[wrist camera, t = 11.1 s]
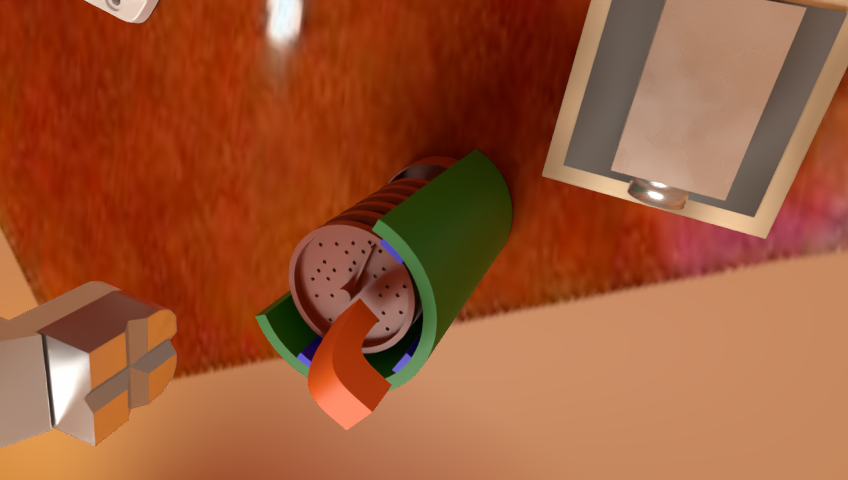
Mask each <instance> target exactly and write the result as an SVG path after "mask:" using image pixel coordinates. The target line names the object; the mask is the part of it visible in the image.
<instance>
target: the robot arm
mask: <svg viewBox="0 0 848 480" xmlns="http://www.w3.org/2000/svg"><path fill="white" fill-rule="evenodd" d="M85 1H87V2H89V3H91V4H93V5H95V6H97V7H99V8H101V9H103V10H104V11H106V12H108V13H110V14H112V15H114V16H116V17H118V18H120V19H122V20H124V21H127V22H133V23H142V22H144V21H145V20H146V19H147V18H148V17H149V16H150V14H151V13H152V11H153V10H154V8H155V6H156V4H157V2H158V1H159V0H120V1H119V0H85ZM175 333H176V315H175V314H173V313H172V312H171V311H170V310H169V309H166V308H164V307H162V306H159V305H157V304H155V303H153V302H150V301H148V300H146V299H143V298H141V297H139V296H136V295H134V294H132V293H129V292H127V291H125V290H121V289H118V288H116V287H114V286H112V285H109V284H107V283H105V282H102V281H90V282H88V283H86V284H84V285H81V286H79V287H77V288H75V289H73V290H71V291H69V292H67V293H65V294H63V295H61V296H59V297H57V298H54V299H52V300H50V301H48V302H46V303H44V304H42V305H40V306H38V307H36V308H34V309H32V310H29V311H27V312H25V313H23V314H21V315H19V316H17V317H15V318H13V319H11V320H7V319H5V318H2V317H0V448H3V447H5V446H8V445H11V444H14V443H17V442H20V441H22V440H25V439H28V438H31V437H34V436H37V435H39V434H42V433H45V432H48V431H51V430H52V427H53V428H55V429H57V430H60V431H62V432H64V433H66V434H69V435H71V436H73V437H75V438H78V439H80V440H82V441H84V442H87V443H89V444H92V445H93V446H97V445H98V444H99V443H100V442H102V441H103V440H104V439H105V438H107V437H108V436H109V435H110V434H112V433H113V432H114V431H116V430H117V429H118V428H119V427H121V426H122V425H123V424H124V423H126V422H127V421H128V420H129V415H130V412H131V409H133V408H136V407H140V406H144V405H148V404H150V403H151V402H152V401H153V400H155V399H156V398H157V397H158V396H159V395H161V394H162V393H163V391H164V389H165V388H166V387H167V385H168V384H169V382H170V381H171V379H172V377H173V374H174V371H175V367H176V352H175V350H174V348H173V346H172V344H171V342H170V340H169V339H170V338H171V337H172V336H173V335H174V334H175Z"/></svg>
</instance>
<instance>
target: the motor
mask: <svg viewBox="0 0 848 480" xmlns="http://www.w3.org/2000/svg"><path fill="white" fill-rule="evenodd" d="M512 215H513V212H512V201H511V196H510V193H509V190H508V187H507V184H506V182H505V180H504V178H503V176H502V175H501V173H500V172H499V170H498V169H497V167H496V166H495V165H494V164H493V163H492V162H491V161H490V160H489V159H488V158H487V157H486V156H485V155H484V154H483V153H481V152H480V151H478V150H477V149H475V150H473V151H472V152H470V153H469V154H468V155H466V156H465V157H464V158H462V159H461V160H458V159H455V158H452V157H447V156H429V157H425V158H422V159H420V160H417V161H415V162H414V163H412V164H410V165H409V166H407V167H405V168H404V169H402V170H401V171H399V172H398V173H396V174H395V175H394V176H393V177H392V178H391V179H390V181H389V182H388V183H387V185H386V186H384V187H383V188H381V189H380V190H378V191H376V192H375V193H373V194H371V195H370V196H368V197H367V198H365V199H363V200H362V201H360V202H359V203H357V204H356V205H354V206H353V207H351V208H349V209H347V210H346V211H344V212H343V213H341V214H340V215H338V216H336V217H335V218H333V219H331V220H330V221H328V222H327V223H325V224H324V225H322V226H320V227H319V228H317V229H315V230H314V231H312V232H311V233H309V234H308V235H306V236H305V237H304V238H303V239H302V240H301V241H300V243H299V244H298V245H297V247H296V248H295V250H294V252H293V255H292V258H291V261H290V266H289V285H290V291H288V292H287V293H286V294H284V295H283V296H282V297H280V298H279V299H278V300H276V301H275V302H274V303H272V304H271V305H270V306H268V307H267V308H266V309H264V310H263V311H262V312H260V313H259V314H258V315H256V316H255V317H256V319H257V321H258V323H259V325H260V327H261V329H262V331H263V333H264V334H265V336H266V337H267V339H268V340H269V342H270V343H271V345H272V346H273V347H274V348H275V350H276V351H277V352H278V353H279V354H280V355H281V356H282V357H283V358H284V359H285V361H287V362H288V363H289V364H290V365H291V366H292V367H293V368H295V369H296V370H297V371H298V372H300V373H301V374H303V375H304V376H306V377H307V378H308V387H309V390H310V393H311V395H312V396H313V398H314V400H315V401H316V402H317V404H318V405H319V406H320V407H321V408H322V409H323V410H324V411H325V412H326V413H327V414H328V415H329V416H331V417H332V418H333V419H334V420H335V421H337V422H338V423H339V424H340V425H341V426H342V427H344V429H346V430H347V429H349V428H350V427H352V426H353V425H355V424H356V423H358V422H359V421H360V420H362V419H363V418H365V417H366V416H367V415H369V414H370V413H372V412H373V410H374V409H375V408H376V406H377V405H378V404H379V402H380V401H381V399H382V398H383V396H384V395H385V394H386V393H387V391H390V390H392V389H395V388H397V387H399V386H401V385H403V384H404V383H406V382H407V381H409V380H410V379H411V378H412V377H413V376H415V375H416V374H417V372H418V371H419V370H420V369H421V368H422V366H423V365H424V363H425V362H426V361H427V359H428V358H429V356H430V355H431V353H432V352H433V350H434V349H435V347H436V346H437V344H438V343H439V341H440V340H441V338H442V337H443V335H444V334H445V333H446V331H447V330H448V328H449V327H450V325H451V324H452V322H453V321H454V319H455V318H456V316H457V315H458V313H459V312H460V310H461V309H462V307H463V306H464V304H465V303H466V301H467V300H468V298H469V297H470V295H471V294H472V293H473V291H474V290H475V288H476V287H477V285H478V284H479V282H480V281H481V279H482V278H483V276H484V275H485V273H486V272H487V270H488V269H489V267H490V266H491V264H492V263H493V261H494V260H495V258H496V257H497V255H498V254H499V253H500V251H501V250H502V248H503V246H504V245H505V243H506V241H507V239H508V236H509V233H510V230H511V225H512Z"/></svg>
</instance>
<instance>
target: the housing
mask: <svg viewBox="0 0 848 480" xmlns="http://www.w3.org/2000/svg"><path fill="white" fill-rule="evenodd" d="M806 9H807V8H805V7H800V6H794V5H789V4H784V3H778V2H773V1H768V0H664V3H663V6H662V9H661V12H660V15H659V18H658V22H657V25H656V28H655V31H654V34H653V37H652V40H651V43H650V46H649V49H648V52H647V55H646V58H645V61H644V64H643V67H642V70H641V73H640V77H639V80H638V83H637V86H636V89H635V92H634V95H633V98H632V101H631V104H630V107H629V110H628V113H627V116H626V119H625V122H624V125H623V129H622V132H621V135H620V138H619V141H618V144H617V147H616V151H615V155H614V159H613V163H612V167H611V170H612V171H615V172H619V173H623V174H627V175H630V176H632V177H631V180H630V183H629V186H628V189H627V192H628V194H629V195H631V196H632V197H634V198H635V199H637V200H639V201H641V202H644V203H646V204H649V205H652V206H656V207H659V208H664V209H670V210H681V209H683V208H684V207H685V205H686V202H687V200H688V197H689V195H690V192H694V193H698V194H701V195H705V196H709V197H713V198H716V199H720V200H724V201H725V200H726V197H727V195H728V193H729V190H730V188H731V186H732V183H733V181H734V178H735V176H736V174H737V171H738V169H739V167H740V164H741V162H742V160H743V157H744V155H745V152H746V150H747V148H748V145H749V143H750V141H751V138H752V136H753V134H754V131H755V129H756V127H757V124H758V122H759V119H760V117H761V115H762V112H763V110H764V108H765V105H766V103H767V101H768V98H769V96H770V94H771V91H772V89H773V86H774V84H775V82H776V79H777V77H778V75H779V72H780V70H781V68H782V65H783V63H784V60H785V58H786V56H787V53H788V51H789V49H790V46H791V44H792V42H793V39H794V37H795V35H796V32H797V30H798V27H799V25H800V23H801V20H802V18H803V16H804V13H805V11H806Z"/></svg>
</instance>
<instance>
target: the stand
mask: <svg viewBox="0 0 848 480" xmlns="http://www.w3.org/2000/svg"><path fill="white" fill-rule="evenodd" d="M768 1H773V2H778V3H784V4H789V5H794V6H800V7H805V8H807V9H806V11H805V13H804V16H803V18H802V20H801V23H800V25H799V27H798V30H797V32H796V35H795V37H794V39H793V42H792V44H791V46H790V49H789V51H788V53H787V56H786V58H785V60H784V63H783V65H782V68H781V70H780V72H779V75H778V77H777V79H776V82H775V84H774V86H773V89H772V91H771V94H770V96H769V98H768V101H767V103H766V105H765V108H764V110H763V112H762V115H761V117H760V119H759V122H758V124H757V127H756V129H755V131H754V134H753V136H752V138H751V141H750V143H749V145H748V148H747V150H746V152H745V155H744V157H743V160H742V162H741V164H740V167H739V169H738V171H737V174H736V176H735V178H734V181H733V183H732V186H731V188H730V190H729V193H728V195H727V197H726V200H725V201H724V200H720V199H716V198H713V197H709V196H705V195H701V194H698V193H694V192H690V195H689V197H688V200H687V202H686V205H685V207H684V208H683V209H681V210H670V209H664V208H659V207H656V206H652V205H649V204H646V203H644V202H641V201H639V200H637V199H635V198H634V197H632V196H631V195H629V194H628V192H627V189H628V186H629V183H630V180H631V177H632V176H630V175H627V174H623V173H619V172H615V171H612V170H611V167H612V163H613V159H614V155H615V151H616V147H617V144H618V141H619V138H620V135H621V132H622V129H623V125H624V122H625V119H626V116H627V113H628V110H629V107H630V104H631V101H632V98H633V95H634V92H635V89H636V86H637V83H638V80H639V77H640V73H641V70H642V67H643V64H644V61H645V58H646V55H647V52H648V49H649V46H650V43H651V40H652V37H653V34H654V31H655V28H656V25H657V22H658V18H659V15H660V12H661V9H662V6H663V3H664V0H591V3H590V6H589V10H588V13H587V17H586V20H585V24H584V27H583V31H582V35H581V38H580V42H579V45H578V49H577V52H576V56H575V59H574V63H573V66H572V70H571V74H570V77H569V81H568V84H567V88H566V91H565V95H564V98H563V102H562V106H561V109H560V113H559V116H558V120H557V123H556V127H555V130H554V134H553V137H552V141H551V145H550V148H549V152H548V155H547V159H546V162H545V166H544V169H543V173H542V176H544V177H547V178H551V179H555V180H558V181H562V182H565V183H569V184H572V185H576V186H580V187H583V188H587V189H590V190H594V191H597V192H601V193H604V194H608V195H612V196H615V197H619V198H622V199H626V200H629V201H633V202H636V203H640V204H644V205H647V206H651V207H654V208H658V209H661V210H665V211H668V212H672V213H676V214H679V215H683V216H686V217H690V218H693V219H697V220H700V221H704V222H708V223H711V224H715V225H718V226H722V227H725V228H729V229H733V230H736V231H740V232H743V233H747V234H750V235H754V236H757V237H761V238H765V239H766V237H767V235H768V233H769V231H770V229H771V226H772V224H773V222H774V220H775V218H776V216H777V214H778V212H779V210H780V207H781V205H782V203H783V201H784V199H785V197H786V195H787V193H788V191H789V188H790V186H791V184H792V182H793V180H794V178H795V176H796V174H797V172H798V169H799V167H800V165H801V163H802V161H803V159H804V157H805V155H806V153H807V150H808V148H809V146H810V144H811V142H812V140H813V138H814V136H815V134H816V131H817V129H818V127H819V125H820V123H821V121H822V119H823V117H824V115H825V112H826V110H827V108H828V106H829V104H830V102H831V100H832V98H833V96H834V93H835V91H836V89H837V87H838V85H839V83H840V81H841V79H842V77H843V74H844V72H845V70H846V68H847V66H848V0H768Z"/></svg>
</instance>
